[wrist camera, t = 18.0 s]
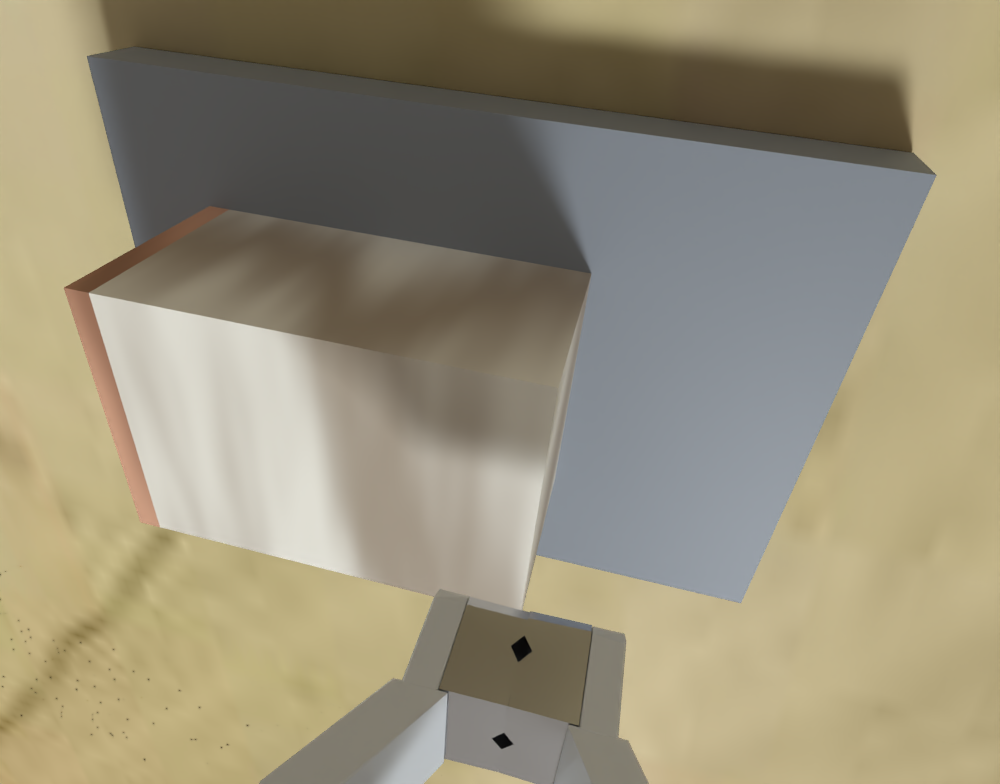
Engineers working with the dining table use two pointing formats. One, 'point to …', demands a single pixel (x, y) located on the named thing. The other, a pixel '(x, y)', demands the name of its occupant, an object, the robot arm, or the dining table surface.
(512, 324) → the block
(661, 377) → the slate board
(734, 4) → the dining table surface
